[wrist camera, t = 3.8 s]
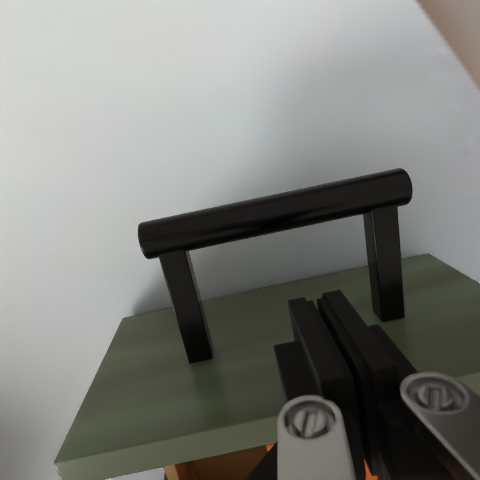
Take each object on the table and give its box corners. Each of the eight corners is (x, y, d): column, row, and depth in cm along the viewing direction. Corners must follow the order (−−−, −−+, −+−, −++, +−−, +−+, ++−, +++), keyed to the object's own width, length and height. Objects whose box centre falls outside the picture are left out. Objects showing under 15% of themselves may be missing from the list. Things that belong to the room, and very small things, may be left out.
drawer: (87, 212, 18) (-28, 291, 10) (423, 142, 19) (611, 156, 10) (191, 522, 25) (178, 736, 16) (438, 469, 25) (558, 653, 16)
